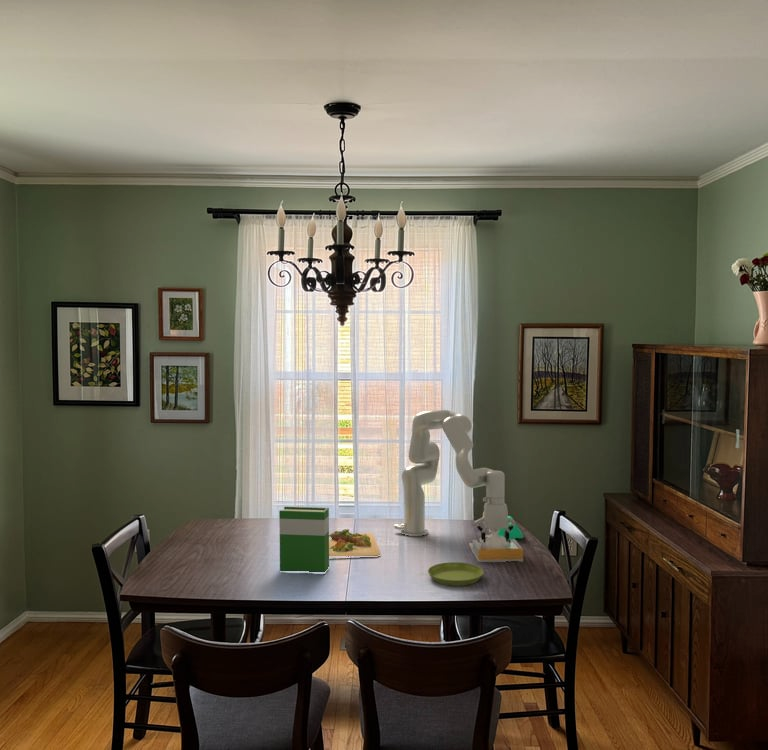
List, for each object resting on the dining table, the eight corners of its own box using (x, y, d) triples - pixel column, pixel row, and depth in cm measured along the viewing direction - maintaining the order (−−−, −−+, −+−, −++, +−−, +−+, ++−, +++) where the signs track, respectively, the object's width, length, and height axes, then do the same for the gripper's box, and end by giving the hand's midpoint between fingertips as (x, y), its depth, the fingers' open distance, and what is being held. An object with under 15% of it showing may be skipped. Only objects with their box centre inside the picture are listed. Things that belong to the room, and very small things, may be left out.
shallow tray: (478, 562, 277) (478, 549, 277) (468, 545, 301) (468, 533, 301) (523, 561, 278) (523, 549, 278) (509, 544, 302) (509, 533, 302)
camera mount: (520, 536, 317) (520, 513, 316) (522, 540, 309) (522, 517, 309) (494, 535, 317) (494, 513, 317) (495, 540, 310) (495, 517, 309)
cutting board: (381, 559, 284) (381, 540, 284) (324, 561, 282) (323, 543, 281) (372, 536, 319) (372, 520, 319) (321, 538, 316) (321, 521, 316)
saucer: (448, 566, 272) (448, 558, 272) (494, 577, 259) (494, 569, 259) (416, 580, 257) (416, 572, 256) (463, 592, 243) (463, 583, 243)
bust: (507, 555, 289) (506, 530, 296) (509, 549, 283) (508, 523, 289) (478, 554, 290) (478, 528, 296) (480, 547, 284) (480, 521, 290)
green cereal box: (279, 572, 265) (279, 510, 264) (285, 566, 273) (284, 506, 272) (324, 574, 263) (324, 512, 262) (329, 568, 270) (328, 507, 269)
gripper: (476, 502, 284) (476, 544, 285) (518, 502, 285) (517, 543, 285) (473, 498, 291) (472, 539, 292) (513, 498, 292) (513, 538, 293)
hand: (495, 541), depth 289 cm, fingers closed on bust, 9 cm apart
